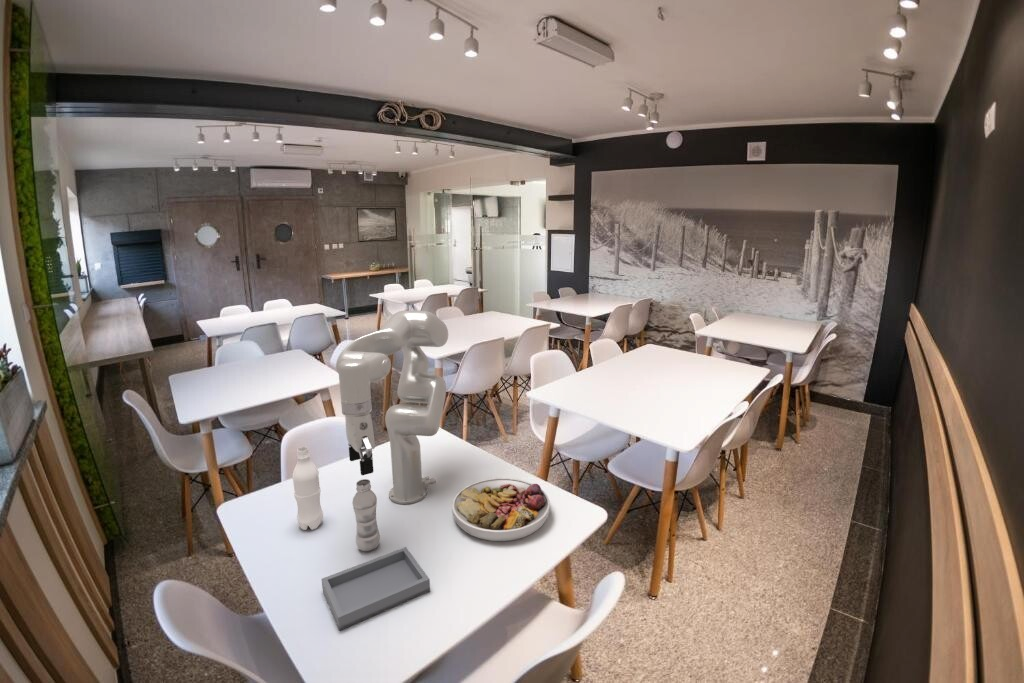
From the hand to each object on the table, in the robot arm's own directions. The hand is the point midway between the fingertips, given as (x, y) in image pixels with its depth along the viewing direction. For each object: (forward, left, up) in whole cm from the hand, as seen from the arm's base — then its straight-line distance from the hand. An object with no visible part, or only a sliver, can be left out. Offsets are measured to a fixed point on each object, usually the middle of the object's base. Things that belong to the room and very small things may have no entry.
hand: (361, 466), depth 134 cm
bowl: (-39, +8, -26) cm, 47 cm away
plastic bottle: (0, 0, -25) cm, 25 cm away
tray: (+4, +18, -25) cm, 31 cm away
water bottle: (+11, -20, -25) cm, 34 cm away
